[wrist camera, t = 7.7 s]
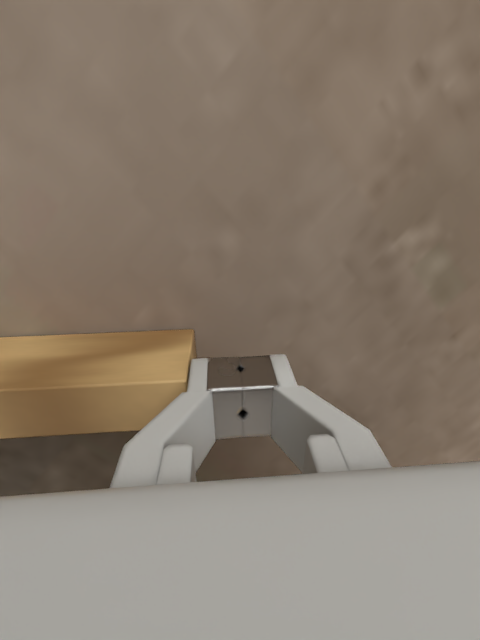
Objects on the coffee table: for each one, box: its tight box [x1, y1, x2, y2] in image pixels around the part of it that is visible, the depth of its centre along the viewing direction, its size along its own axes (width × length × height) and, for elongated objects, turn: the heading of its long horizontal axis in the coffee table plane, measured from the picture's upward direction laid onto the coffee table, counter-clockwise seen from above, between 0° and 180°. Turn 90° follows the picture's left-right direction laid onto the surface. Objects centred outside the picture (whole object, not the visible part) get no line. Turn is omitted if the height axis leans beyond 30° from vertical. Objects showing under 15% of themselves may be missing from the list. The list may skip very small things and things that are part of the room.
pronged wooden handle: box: [0, 329, 197, 439], centre depth 10 cm, size 12×4×3 cm, turn 91°
